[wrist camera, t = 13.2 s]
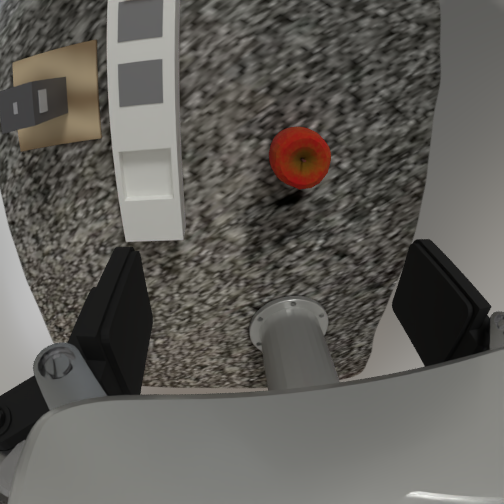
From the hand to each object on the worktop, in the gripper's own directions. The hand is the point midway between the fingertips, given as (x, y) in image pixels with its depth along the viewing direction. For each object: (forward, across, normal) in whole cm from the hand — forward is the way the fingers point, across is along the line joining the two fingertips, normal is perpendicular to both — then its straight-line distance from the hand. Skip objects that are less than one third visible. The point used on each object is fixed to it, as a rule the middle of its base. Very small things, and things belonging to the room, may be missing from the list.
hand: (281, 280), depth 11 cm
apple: (+28, -6, +2) cm, 29 cm away
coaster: (+28, +22, -6) cm, 36 cm away
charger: (+28, +22, -6) cm, 36 cm away
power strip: (+28, +10, -7) cm, 31 cm away
